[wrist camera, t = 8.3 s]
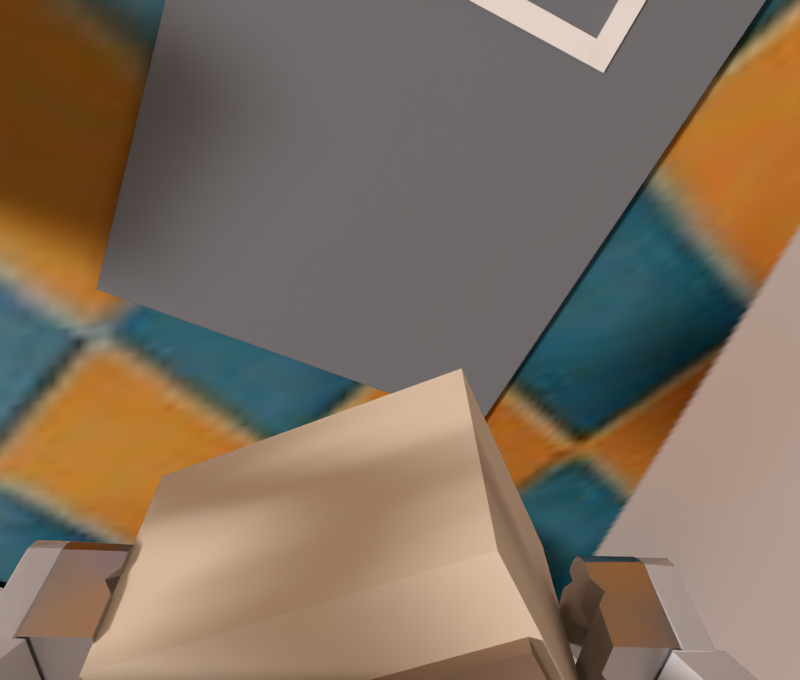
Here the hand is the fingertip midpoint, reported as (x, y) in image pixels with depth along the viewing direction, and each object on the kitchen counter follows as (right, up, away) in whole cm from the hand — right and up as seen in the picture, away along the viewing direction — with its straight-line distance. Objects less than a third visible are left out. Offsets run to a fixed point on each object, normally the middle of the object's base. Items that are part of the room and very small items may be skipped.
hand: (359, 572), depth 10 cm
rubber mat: (+2, +14, +12) cm, 18 cm away
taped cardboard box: (0, +1, +1) cm, 1 cm away
